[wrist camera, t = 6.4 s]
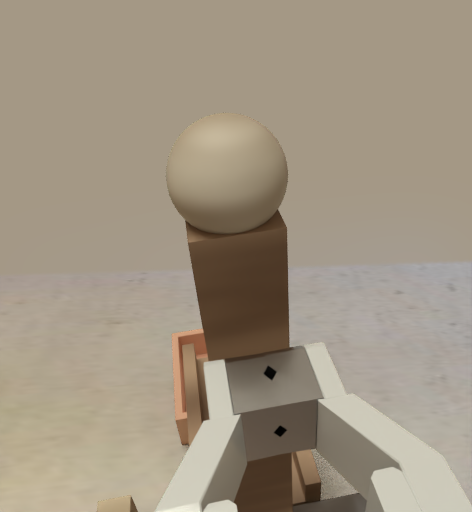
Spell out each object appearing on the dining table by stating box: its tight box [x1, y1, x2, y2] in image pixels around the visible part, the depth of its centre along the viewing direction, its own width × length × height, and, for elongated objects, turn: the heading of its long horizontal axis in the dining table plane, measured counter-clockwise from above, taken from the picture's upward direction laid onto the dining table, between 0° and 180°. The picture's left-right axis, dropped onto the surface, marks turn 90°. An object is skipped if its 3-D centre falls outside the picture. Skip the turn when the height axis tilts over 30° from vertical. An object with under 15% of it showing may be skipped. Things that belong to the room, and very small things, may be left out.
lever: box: [166, 113, 367, 512], centre depth 20 cm, size 14×12×22 cm
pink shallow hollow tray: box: [172, 329, 208, 445], centre depth 42 cm, size 10×10×4 cm
